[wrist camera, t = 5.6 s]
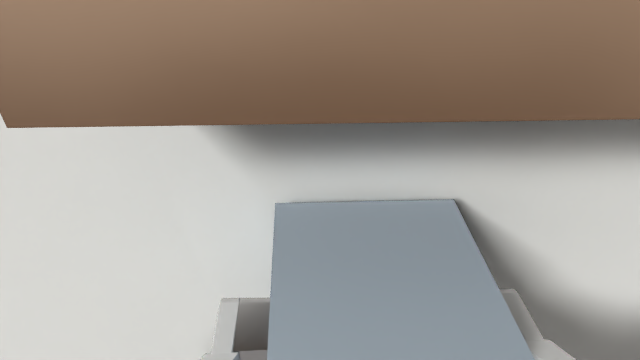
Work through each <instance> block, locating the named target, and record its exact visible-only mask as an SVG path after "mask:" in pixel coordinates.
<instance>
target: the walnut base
mask: <svg viewBox="0 0 640 360" xmlns="http://www.w3.org/2000/svg"><path fill="white" fill-rule="evenodd" d="M0 113H1V115H2V118H3V120H4V122H5V124H6V126H7V128H33V127H106V126H178V125H251V124H324V123H397V122H470V121H543V120H616V119H640V0H0Z"/></svg>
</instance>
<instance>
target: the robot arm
mask: <svg viewBox="0 0 640 360" xmlns="http://www.w3.org/2000/svg"><path fill="white" fill-rule="evenodd" d="M499 290H500V292H501V294H502V296H503V298H504V300H505V302H506V304H507V306H508V308H509V310H510V312H511V314H512V316H513V318H514V320H515V321H516V323H517V325H518V327H519V329H520V331H521V333H522V335H523V337H524V339H525V341H526V343H527V345H528V347H529V349H530V351H531V353H532V355H533V357H534V359H535V360H576V359H575V358H573V357H572V356H571V355H569V354H568V353H567V352H565V351H564V350H563V349H561V348H560V347H559V346H557V345H556V344H555V343H553V342H552V341H551V340H544V338H543V337H542V335H541V333H540V331H539V329H538V328H537V326H536V324H535V322H534V320H533V319H532V317H531V315H530V313H529V312H528V310H527V308H526V306H525V304H524V303H523V301H522V299H521V297H520V295H519V294H518V292H517V291H516V290H515V289H499ZM269 312H270V298H222V299H221V301H220V304H219V309H218V315H217V320H216V326H215V332H214V337H213V343H212V349H211V353H206V354H204V355H203V357H202V358H201V359H200V360H267V349H268V331H269Z"/></svg>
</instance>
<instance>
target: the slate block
mask: <svg viewBox="0 0 640 360" xmlns="http://www.w3.org/2000/svg"><path fill="white" fill-rule="evenodd" d="M267 360H535V359H534V357H533V355H532V353H531V351H530V349H529V347H528V345H527V343H526V341H525V339H524V337H523V335H522V333H521V331H520V329H519V327H518V325H517V323H516V321H515V320H514V318H513V316H512V314H511V312H510V310H509V308H508V306H507V304H506V302H505V300H504V298H503V296H502V294H501V292H500V290H499V288H498V286H497V284H496V282H495V280H494V278H493V276H492V274H491V272H490V270H489V268H488V266H487V264H486V262H485V260H484V258H483V256H482V254H481V252H480V250H479V248H478V247H477V245H476V243H475V241H474V239H473V237H472V235H471V233H470V231H469V229H468V227H467V225H466V223H465V221H464V219H463V217H462V215H461V213H460V211H459V209H458V207H457V205H456V203H455V201H454V199H451V200H405V201H359V202H313V203H275V219H274V238H273V256H272V275H271V294H270V312H269V331H268V349H267Z"/></svg>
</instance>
